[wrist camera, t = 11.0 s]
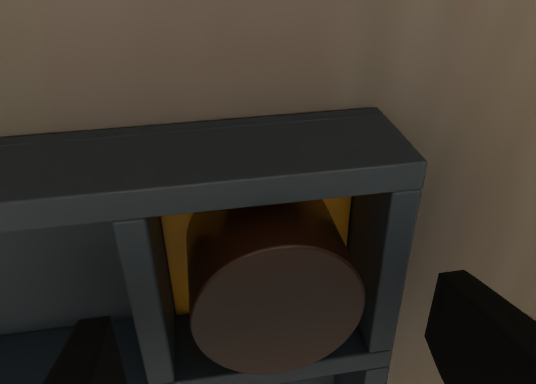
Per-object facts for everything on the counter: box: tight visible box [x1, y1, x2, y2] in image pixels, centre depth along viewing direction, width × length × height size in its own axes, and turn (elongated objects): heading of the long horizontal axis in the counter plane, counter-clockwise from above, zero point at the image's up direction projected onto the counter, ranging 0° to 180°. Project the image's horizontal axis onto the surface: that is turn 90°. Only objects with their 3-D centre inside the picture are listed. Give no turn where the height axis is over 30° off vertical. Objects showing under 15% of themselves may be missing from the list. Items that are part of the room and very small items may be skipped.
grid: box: [0, 108, 427, 384], centre depth 14 cm, size 12×12×3 cm
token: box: [186, 199, 365, 374], centre depth 12 cm, size 4×4×3 cm
